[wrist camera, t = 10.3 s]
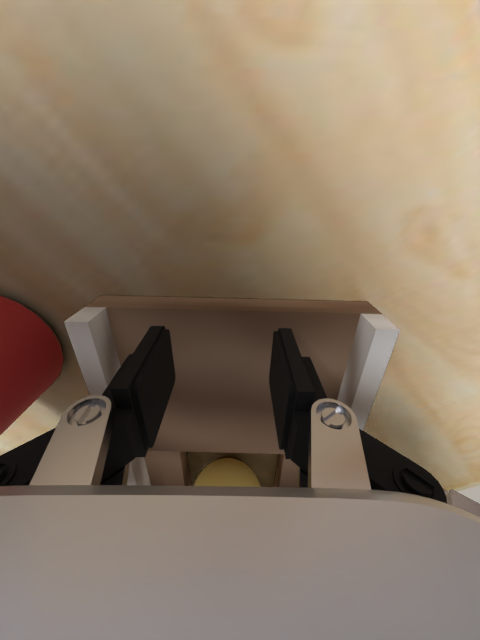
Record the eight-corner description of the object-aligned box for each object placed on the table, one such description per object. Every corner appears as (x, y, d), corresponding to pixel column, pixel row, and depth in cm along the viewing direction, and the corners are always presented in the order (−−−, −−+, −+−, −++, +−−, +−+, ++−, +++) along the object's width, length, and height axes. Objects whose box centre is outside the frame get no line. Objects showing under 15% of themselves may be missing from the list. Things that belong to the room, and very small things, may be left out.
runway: (101, 295, 13) (25, 348, 8) (367, 301, 13) (433, 358, 8) (154, 502, 22) (132, 580, 18) (310, 506, 22) (326, 585, 18)
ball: (177, 537, 14) (188, 550, 17) (266, 542, 14) (260, 555, 17) (194, 444, 17) (200, 470, 21) (264, 448, 17) (259, 473, 21)
